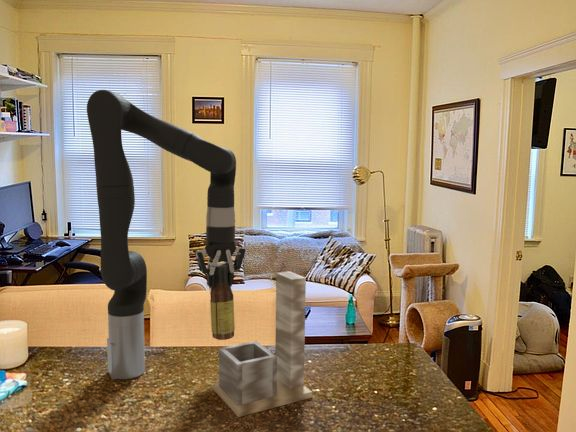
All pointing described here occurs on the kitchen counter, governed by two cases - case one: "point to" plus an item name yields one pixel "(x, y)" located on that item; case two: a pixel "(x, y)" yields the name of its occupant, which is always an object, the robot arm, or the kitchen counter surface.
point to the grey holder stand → (269, 358)
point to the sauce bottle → (222, 305)
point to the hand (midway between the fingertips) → (220, 286)
